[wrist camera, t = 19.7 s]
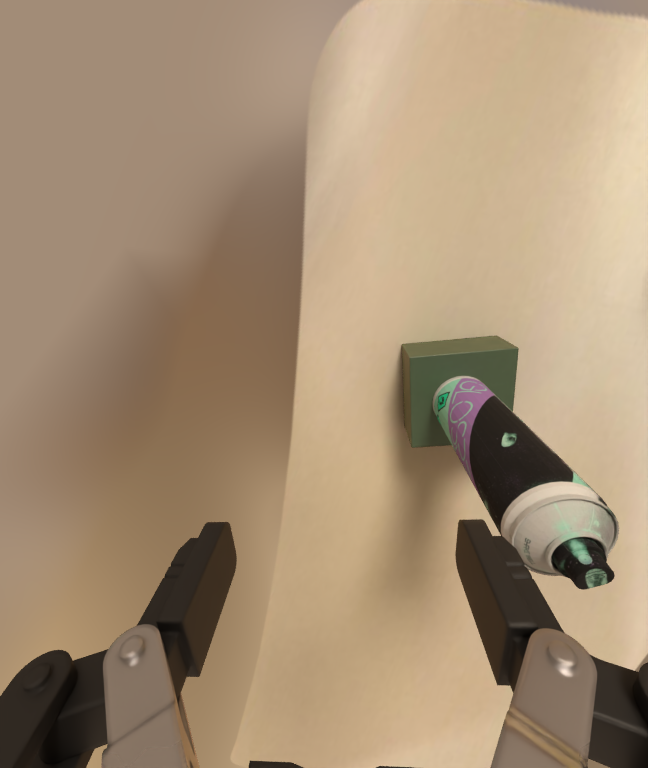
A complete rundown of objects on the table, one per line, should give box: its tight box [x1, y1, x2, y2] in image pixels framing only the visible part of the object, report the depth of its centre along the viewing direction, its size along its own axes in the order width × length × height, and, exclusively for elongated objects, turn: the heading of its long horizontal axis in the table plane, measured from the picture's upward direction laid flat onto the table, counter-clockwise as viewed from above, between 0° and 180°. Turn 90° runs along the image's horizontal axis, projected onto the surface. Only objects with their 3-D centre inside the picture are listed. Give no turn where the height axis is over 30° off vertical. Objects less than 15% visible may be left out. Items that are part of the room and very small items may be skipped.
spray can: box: [433, 376, 619, 589], centre depth 25 cm, size 6×6×20 cm
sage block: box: [402, 336, 518, 448], centre depth 37 cm, size 10×10×5 cm
